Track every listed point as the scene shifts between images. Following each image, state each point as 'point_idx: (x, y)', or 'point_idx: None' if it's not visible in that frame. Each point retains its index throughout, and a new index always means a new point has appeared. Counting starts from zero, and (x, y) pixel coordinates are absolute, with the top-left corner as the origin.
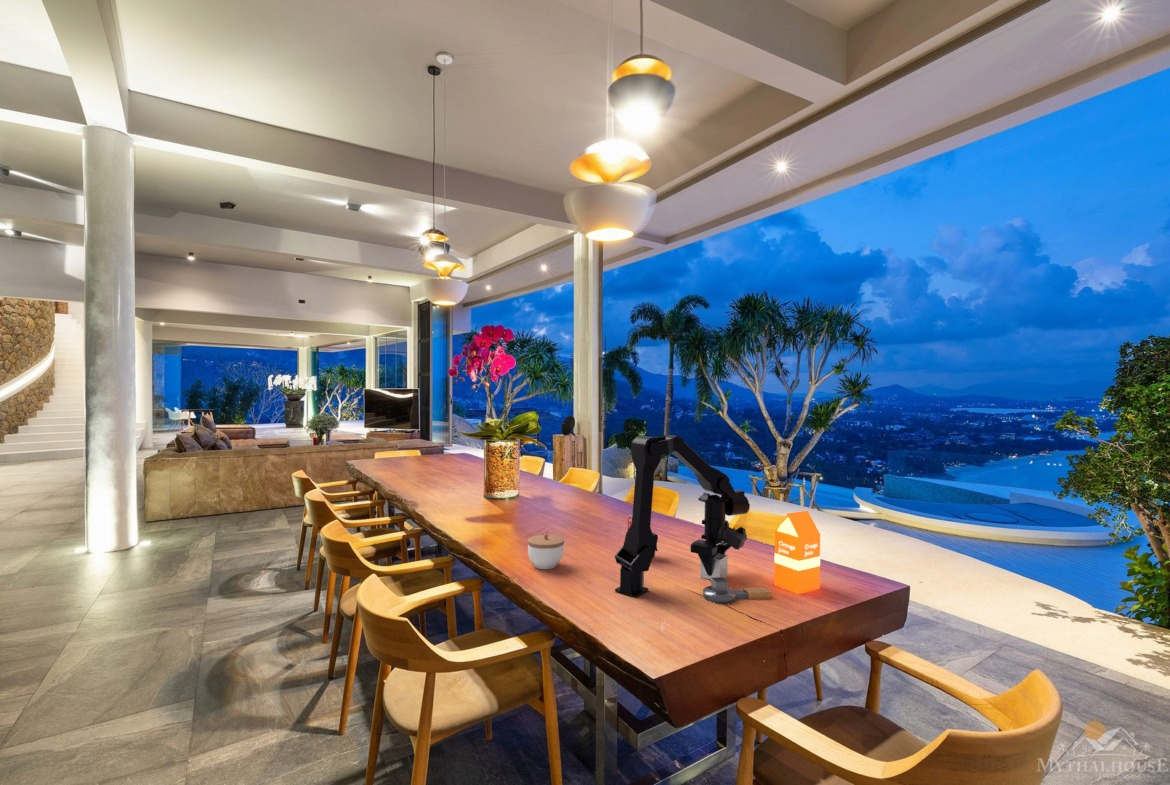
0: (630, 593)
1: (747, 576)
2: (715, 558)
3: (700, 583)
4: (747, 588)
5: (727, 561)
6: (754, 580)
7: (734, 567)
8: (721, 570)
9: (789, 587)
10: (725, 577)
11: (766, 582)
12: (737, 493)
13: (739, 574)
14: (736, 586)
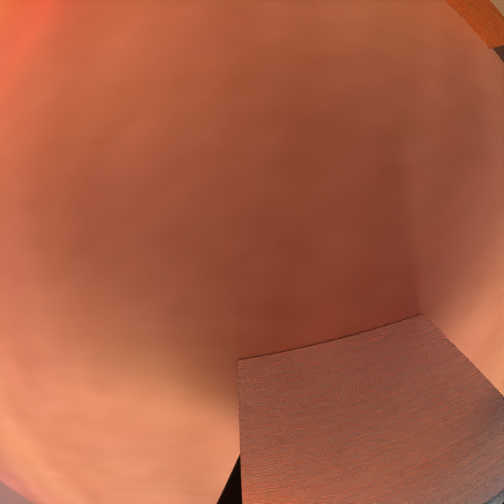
0: None
1: (53, 245)
2: (502, 500)
3: (489, 358)
4: (502, 9)
5: (253, 499)
6: (87, 125)
7: (27, 403)
8: (436, 387)
9: None
10: (289, 354)
11: (57, 34)
12: None
13: (79, 323)
14: (414, 151)
